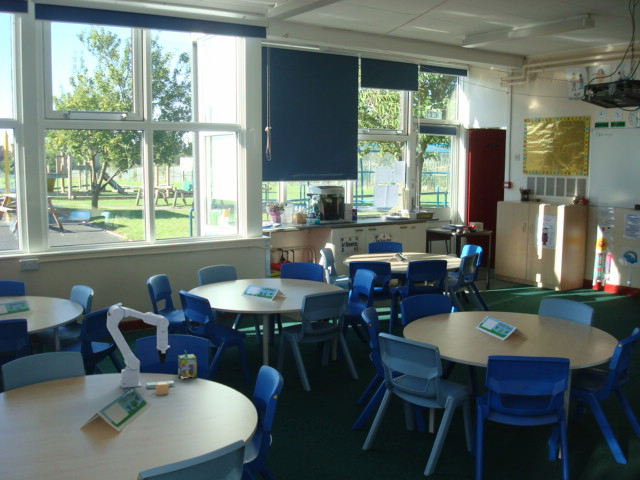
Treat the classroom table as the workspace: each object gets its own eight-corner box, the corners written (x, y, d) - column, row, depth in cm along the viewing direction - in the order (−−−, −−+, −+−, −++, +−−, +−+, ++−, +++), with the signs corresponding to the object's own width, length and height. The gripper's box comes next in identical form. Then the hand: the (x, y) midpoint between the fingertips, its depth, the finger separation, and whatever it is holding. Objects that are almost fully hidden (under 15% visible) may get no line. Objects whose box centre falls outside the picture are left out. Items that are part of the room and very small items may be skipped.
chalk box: (197, 377, 354) (196, 351, 353) (180, 379, 351) (180, 353, 349) (194, 373, 362) (193, 347, 361) (177, 374, 359) (177, 349, 358)
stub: (156, 394, 324) (156, 385, 324) (155, 391, 329) (155, 382, 329) (168, 393, 326) (168, 384, 326) (167, 390, 331) (167, 381, 331)
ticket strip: (147, 388, 334) (147, 385, 334) (146, 385, 338) (146, 382, 338) (174, 386, 338) (174, 383, 338) (173, 383, 343) (173, 380, 343)
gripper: (171, 341, 340) (171, 366, 341) (168, 335, 354) (168, 359, 355) (157, 342, 338) (157, 367, 339) (155, 335, 351) (155, 360, 352)
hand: (162, 363), depth 347 cm, fingers closed
